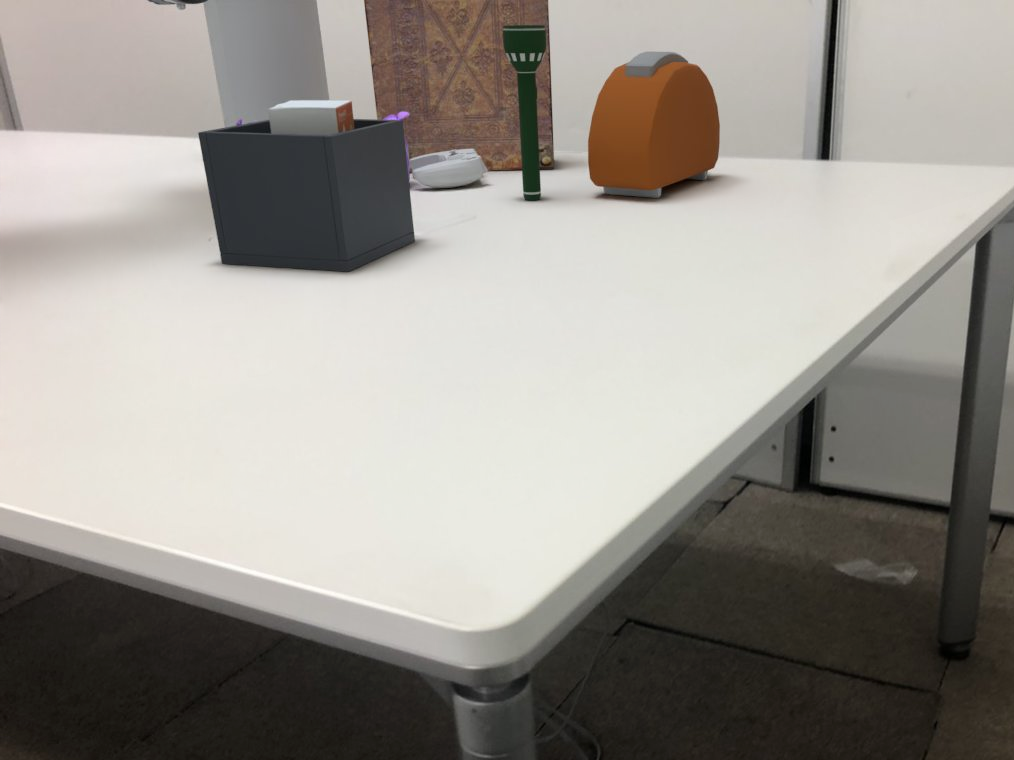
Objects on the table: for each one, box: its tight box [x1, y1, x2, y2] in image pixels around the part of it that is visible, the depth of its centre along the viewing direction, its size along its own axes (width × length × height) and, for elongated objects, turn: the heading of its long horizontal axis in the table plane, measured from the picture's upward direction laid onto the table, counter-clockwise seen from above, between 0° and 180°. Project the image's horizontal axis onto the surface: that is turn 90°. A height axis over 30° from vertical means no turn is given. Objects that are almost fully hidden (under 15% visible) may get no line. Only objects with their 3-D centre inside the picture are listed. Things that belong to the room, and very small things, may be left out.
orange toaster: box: [587, 50, 721, 199], centre depth 132 cm, size 23×9×17 cm, turn 154°
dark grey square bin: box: [197, 118, 416, 273], centre depth 99 cm, size 14×14×12 cm
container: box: [202, 0, 331, 128], centre depth 158 cm, size 17×17×25 cm
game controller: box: [409, 148, 489, 189], centre depth 139 cm, size 14×4×10 cm
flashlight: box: [503, 25, 546, 201], centre depth 123 cm, size 5×5×20 cm
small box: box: [268, 100, 355, 135], centre depth 98 cm, size 8×6×13 cm
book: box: [363, 0, 555, 173], centre depth 147 cm, size 25×9×30 cm, turn 96°
